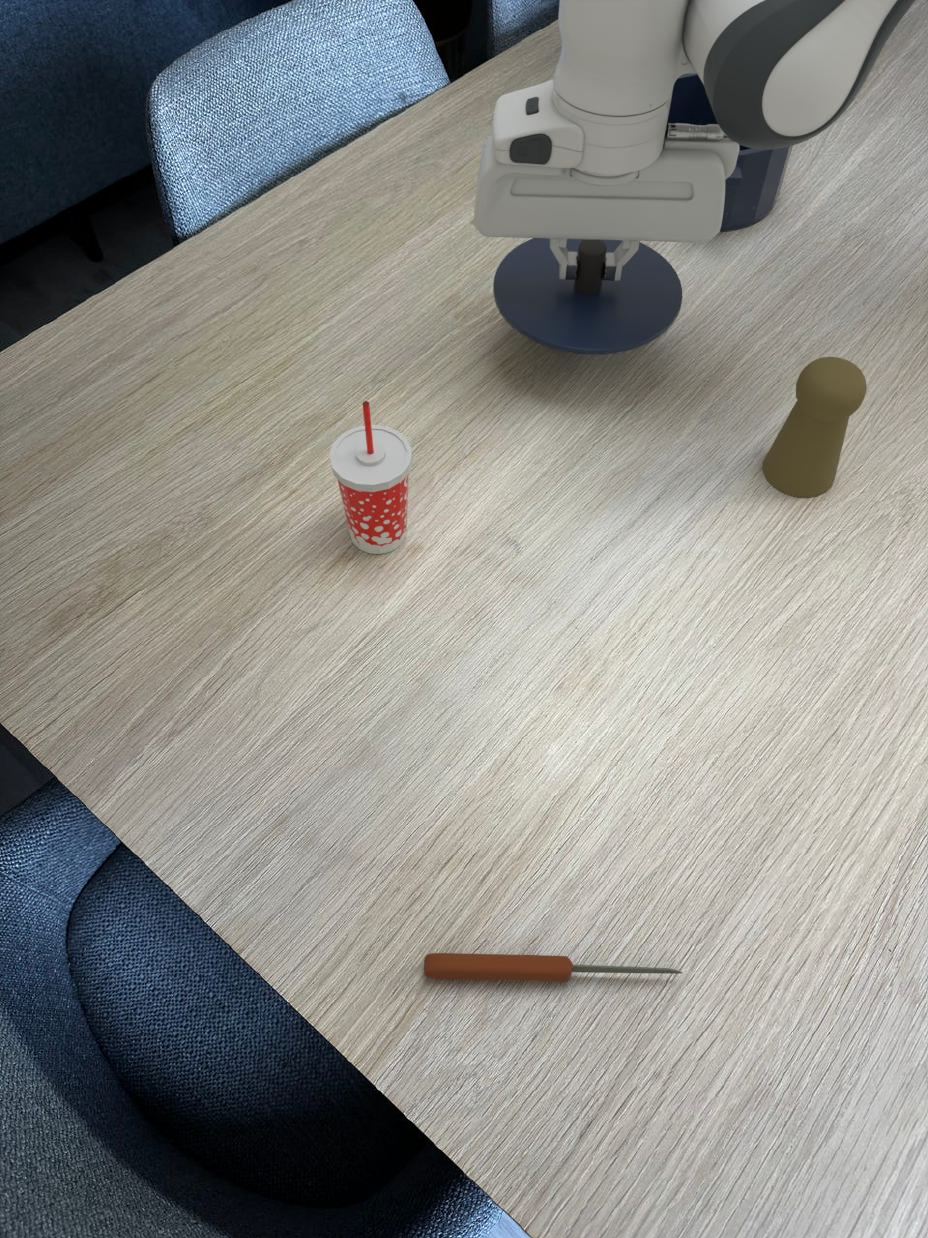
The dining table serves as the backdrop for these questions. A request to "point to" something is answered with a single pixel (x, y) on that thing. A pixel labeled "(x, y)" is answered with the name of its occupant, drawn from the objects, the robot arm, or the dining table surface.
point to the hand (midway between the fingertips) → (588, 275)
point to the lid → (587, 297)
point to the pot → (755, 169)
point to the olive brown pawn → (815, 428)
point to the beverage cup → (373, 484)
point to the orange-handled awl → (516, 967)
